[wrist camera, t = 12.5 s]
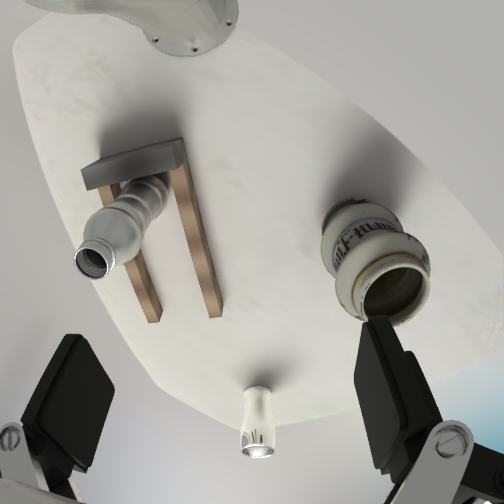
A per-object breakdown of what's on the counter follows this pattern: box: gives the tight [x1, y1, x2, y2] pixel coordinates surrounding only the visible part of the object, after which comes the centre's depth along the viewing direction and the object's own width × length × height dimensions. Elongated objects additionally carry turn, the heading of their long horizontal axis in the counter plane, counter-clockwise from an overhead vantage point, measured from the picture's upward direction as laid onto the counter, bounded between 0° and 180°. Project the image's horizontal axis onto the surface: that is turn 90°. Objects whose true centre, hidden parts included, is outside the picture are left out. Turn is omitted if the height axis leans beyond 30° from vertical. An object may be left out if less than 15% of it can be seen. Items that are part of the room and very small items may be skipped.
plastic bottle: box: [74, 175, 168, 280], centre depth 35 cm, size 6×7×20 cm
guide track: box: [81, 138, 223, 323], centre depth 45 cm, size 28×13×6 cm, turn 9°
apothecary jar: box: [321, 198, 430, 327], centre depth 38 cm, size 12×12×18 cm
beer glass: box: [240, 386, 275, 458], centre depth 59 cm, size 7×7×15 cm
